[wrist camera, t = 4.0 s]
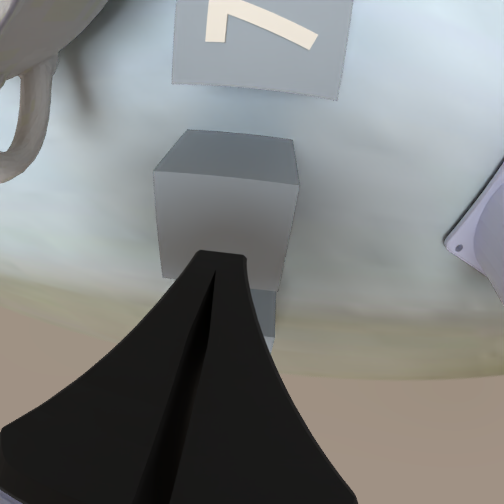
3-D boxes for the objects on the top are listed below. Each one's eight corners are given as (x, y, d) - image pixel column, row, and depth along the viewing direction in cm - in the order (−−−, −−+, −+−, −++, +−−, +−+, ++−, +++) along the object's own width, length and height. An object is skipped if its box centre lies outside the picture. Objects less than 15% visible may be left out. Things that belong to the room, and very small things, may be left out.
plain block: (292, 139, 13) (299, 185, 9) (278, 225, 16) (277, 291, 12) (187, 128, 13) (153, 170, 9) (187, 215, 16) (162, 277, 12)
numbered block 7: (331, -19, 8) (360, -47, 5) (316, 80, 11) (338, 101, 7) (213, -31, 8) (182, -63, 5) (204, 68, 11) (169, 84, 7)
